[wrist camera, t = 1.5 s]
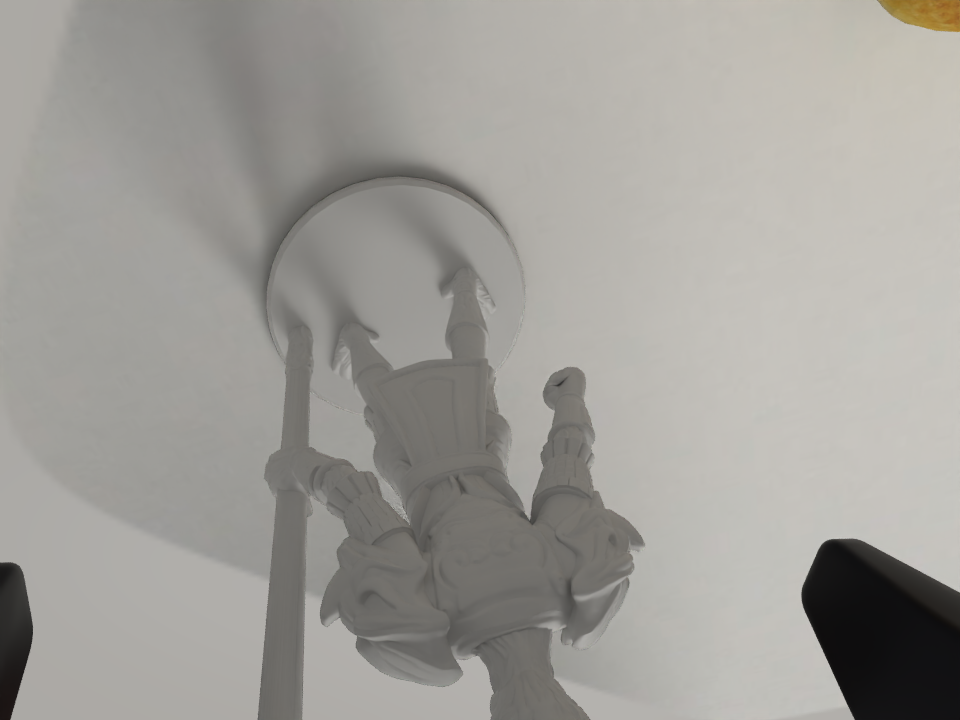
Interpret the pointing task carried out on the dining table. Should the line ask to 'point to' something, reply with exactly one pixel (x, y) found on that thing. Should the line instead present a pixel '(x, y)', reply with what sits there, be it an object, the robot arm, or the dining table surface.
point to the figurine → (429, 457)
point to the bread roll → (926, 13)
